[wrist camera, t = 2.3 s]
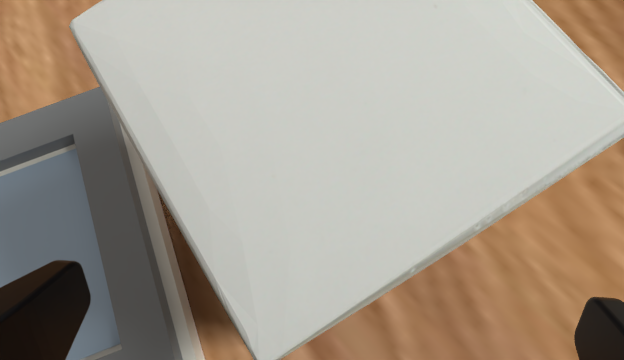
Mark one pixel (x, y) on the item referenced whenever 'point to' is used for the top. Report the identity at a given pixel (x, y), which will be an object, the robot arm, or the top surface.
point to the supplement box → (341, 137)
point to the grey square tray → (94, 228)
